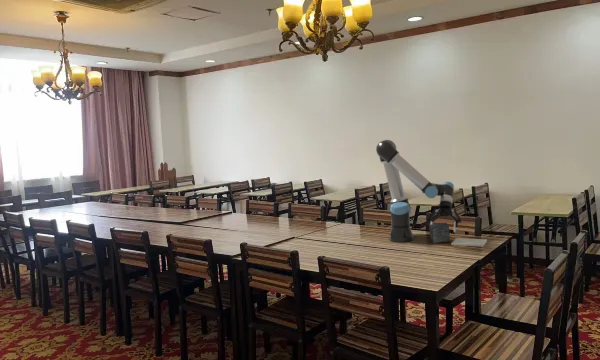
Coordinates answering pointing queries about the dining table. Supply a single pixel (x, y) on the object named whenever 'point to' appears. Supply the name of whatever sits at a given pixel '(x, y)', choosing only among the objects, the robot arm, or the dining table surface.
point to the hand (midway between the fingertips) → (442, 231)
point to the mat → (469, 242)
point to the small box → (439, 233)
